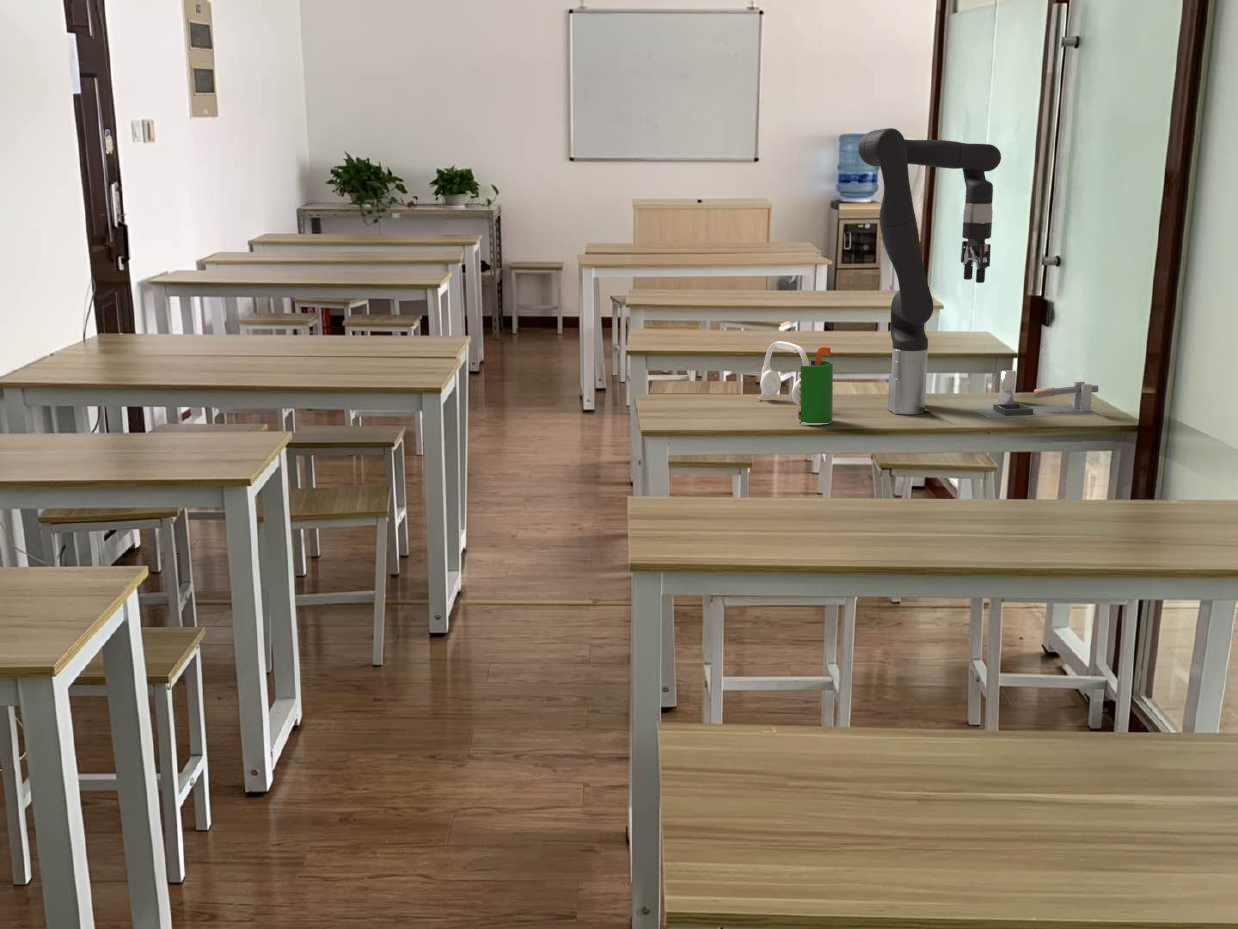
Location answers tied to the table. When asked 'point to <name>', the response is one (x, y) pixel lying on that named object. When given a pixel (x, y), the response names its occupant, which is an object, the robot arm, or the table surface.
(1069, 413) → the grey flat base
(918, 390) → the robot arm
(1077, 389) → the lever
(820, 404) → the green cup with straw
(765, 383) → the headset
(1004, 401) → the translucent white cylinder
